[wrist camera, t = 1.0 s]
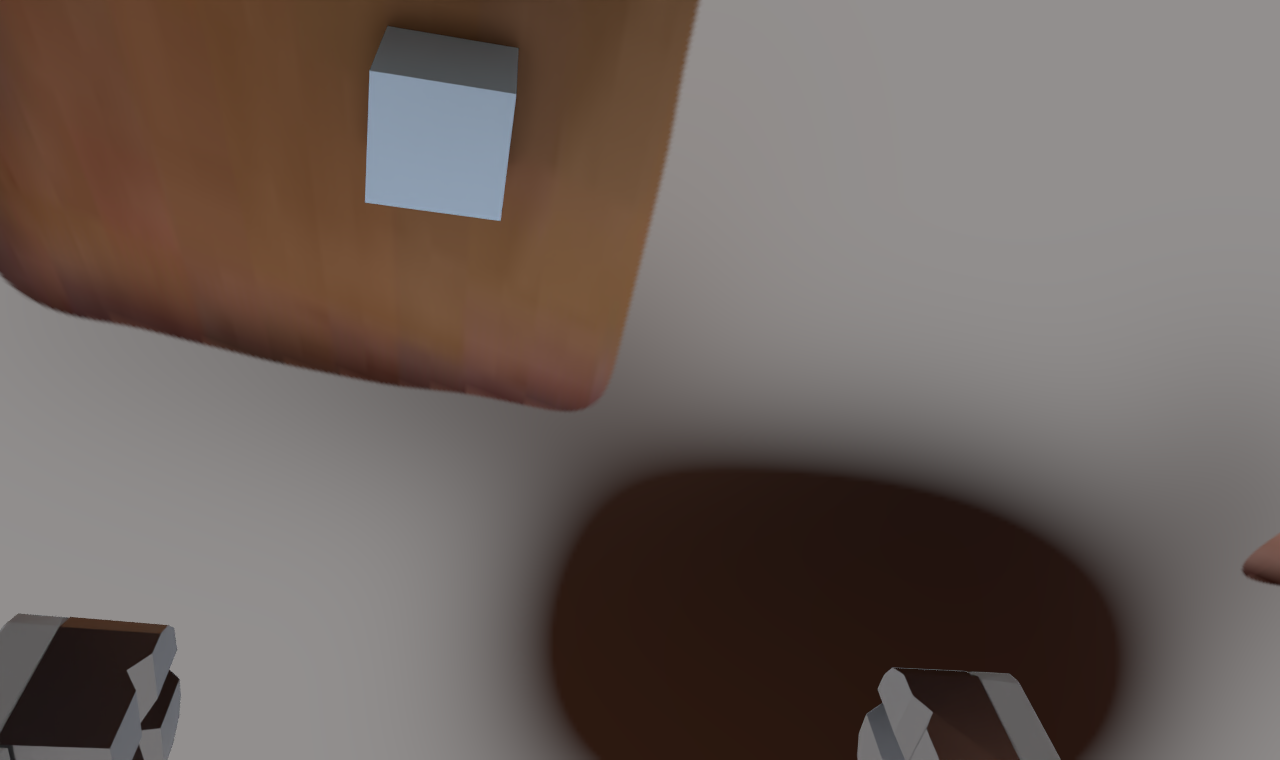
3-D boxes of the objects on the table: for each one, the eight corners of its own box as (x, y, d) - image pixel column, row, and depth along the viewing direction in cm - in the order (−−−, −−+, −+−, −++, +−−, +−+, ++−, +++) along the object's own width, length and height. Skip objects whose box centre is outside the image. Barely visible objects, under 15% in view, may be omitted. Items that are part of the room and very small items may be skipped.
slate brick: (387, 25, 37) (369, 70, 33) (518, 47, 38) (516, 94, 34) (382, 147, 40) (365, 202, 36) (503, 165, 41) (500, 220, 37)
